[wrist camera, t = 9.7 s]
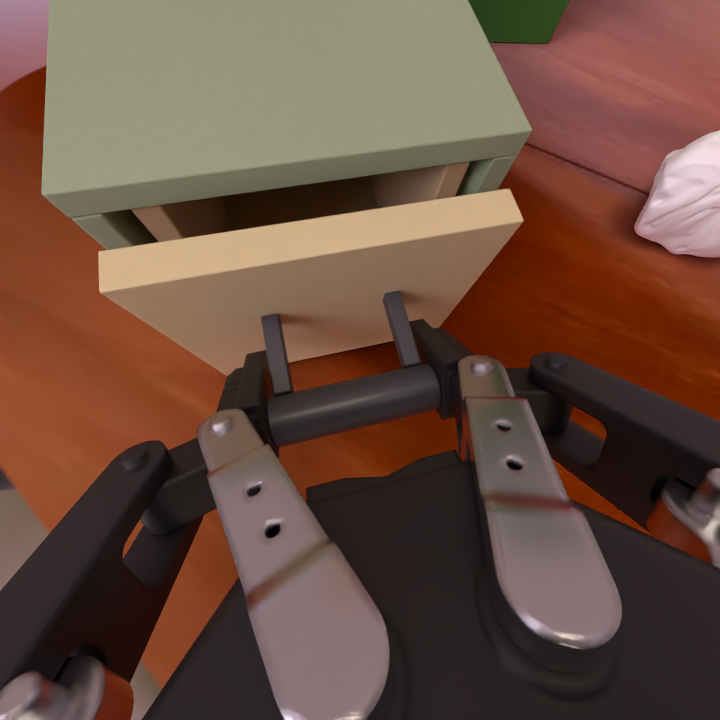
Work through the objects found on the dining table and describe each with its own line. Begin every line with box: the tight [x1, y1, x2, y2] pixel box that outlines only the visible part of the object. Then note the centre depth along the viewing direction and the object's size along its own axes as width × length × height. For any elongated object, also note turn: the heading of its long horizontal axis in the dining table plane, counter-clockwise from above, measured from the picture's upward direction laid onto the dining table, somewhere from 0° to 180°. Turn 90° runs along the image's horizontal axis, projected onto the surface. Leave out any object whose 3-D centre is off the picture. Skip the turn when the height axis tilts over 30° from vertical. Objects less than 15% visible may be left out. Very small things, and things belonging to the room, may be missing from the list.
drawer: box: [99, 162, 524, 447], centre depth 14 cm, size 18×11×9 cm, turn 13°
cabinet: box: [41, 0, 532, 250], centre depth 15 cm, size 15×13×11 cm
